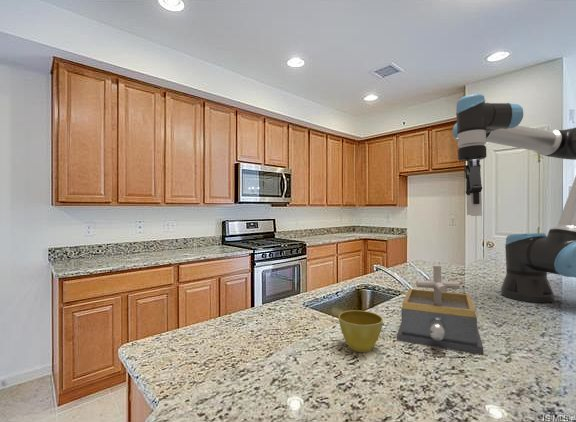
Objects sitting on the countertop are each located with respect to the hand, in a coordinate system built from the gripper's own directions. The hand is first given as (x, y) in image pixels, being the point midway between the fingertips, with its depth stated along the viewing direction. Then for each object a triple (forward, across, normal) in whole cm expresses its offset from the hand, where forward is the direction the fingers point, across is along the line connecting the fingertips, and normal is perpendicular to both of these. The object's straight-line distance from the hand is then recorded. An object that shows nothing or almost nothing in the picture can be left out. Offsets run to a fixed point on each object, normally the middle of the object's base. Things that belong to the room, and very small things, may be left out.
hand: (473, 215), depth 93 cm
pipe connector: (+23, +22, -10) cm, 33 cm away
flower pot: (+30, +38, -27) cm, 56 cm away
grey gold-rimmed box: (+30, +24, -11) cm, 40 cm away
